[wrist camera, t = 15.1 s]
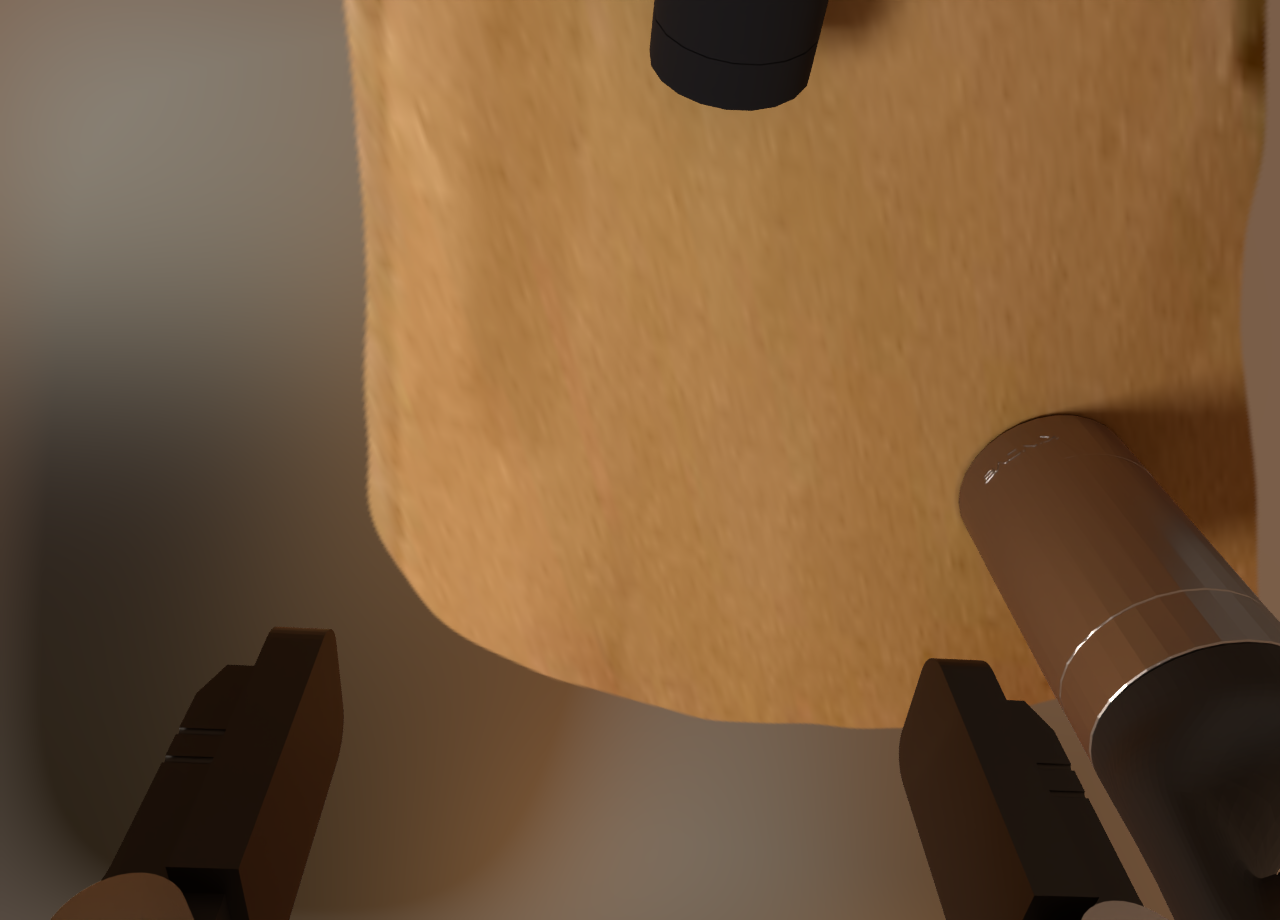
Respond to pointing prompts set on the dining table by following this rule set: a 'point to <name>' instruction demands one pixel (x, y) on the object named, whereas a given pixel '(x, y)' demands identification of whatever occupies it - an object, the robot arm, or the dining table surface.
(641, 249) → the dining table surface
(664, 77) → the black bottle
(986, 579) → the dining table surface
